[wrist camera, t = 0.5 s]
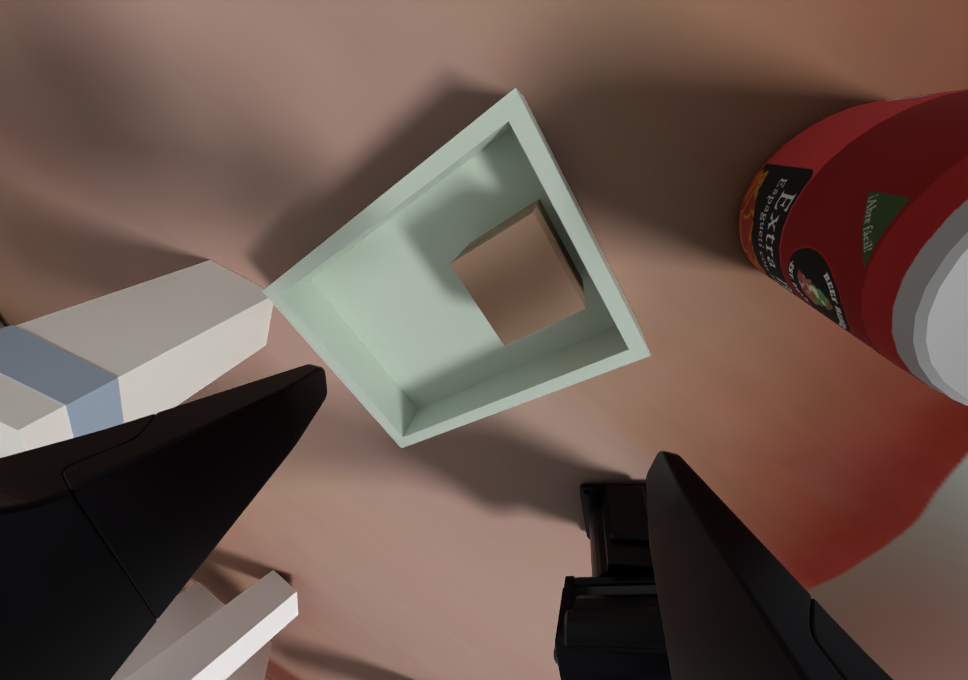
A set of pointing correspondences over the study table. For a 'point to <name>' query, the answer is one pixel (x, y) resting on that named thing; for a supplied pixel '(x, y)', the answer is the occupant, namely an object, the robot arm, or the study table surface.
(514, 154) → the pale green tray
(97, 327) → the carton
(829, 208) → the canned food
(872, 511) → the study table surface
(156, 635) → the white geometric sculpture
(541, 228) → the walnut block
